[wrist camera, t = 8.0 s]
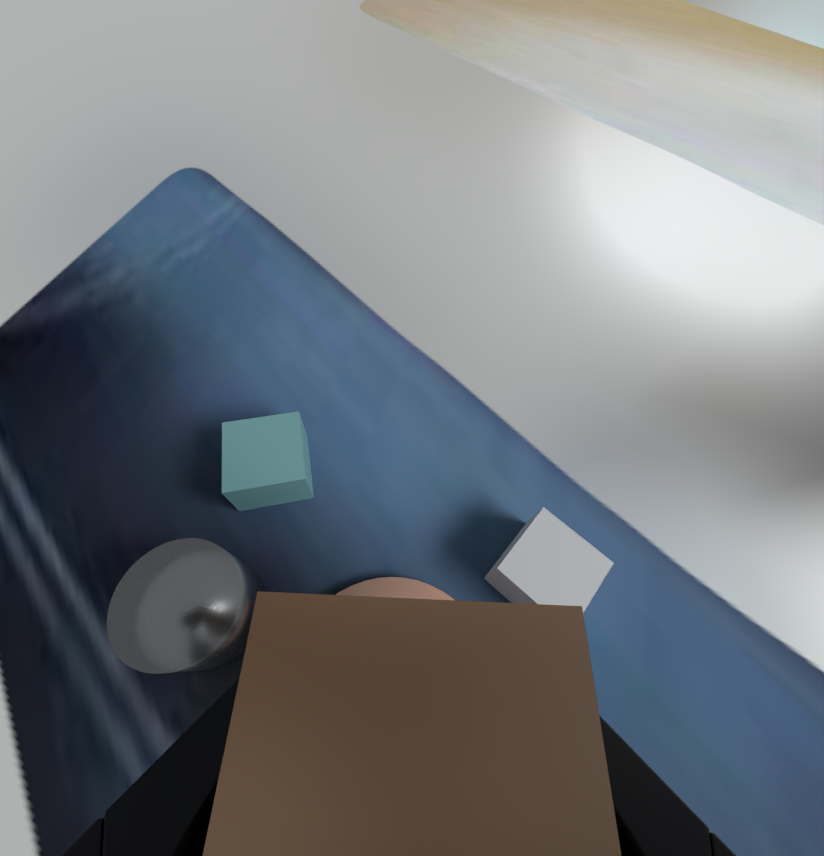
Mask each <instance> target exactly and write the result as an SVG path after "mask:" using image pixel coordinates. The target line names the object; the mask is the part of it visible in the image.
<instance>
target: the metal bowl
mask: <svg viewBox="0 0 824 856" xmlns="http://www.w3.org/2000/svg"><path fill="white" fill-rule="evenodd" d="M258 591H259V592H265V590H264V586H263V583H262V581H261V579H260V577H259V576H258V574H257V573H256V572H255V571H254V570H253V569H252V568H251V567H250V566H249V565H247V564H246V563H244V562H243V561H241V560H240V559H238V558H237V557H235V556H234V555H232V554H230V553H229V552H227V551H226V550H224V549H223V548H221V547H220V546H218V545H217V544H215V543H213V542H210V541H207V540H204V539H198V538H184V539H178V540H173V541H170V542H167V543H164V544H162V545H160V546H158V547H156V548H154V549H152V550H151V551H149V552H148V553H146V554H145V555H144V556H142V557H141V558H140V559H139V560H138V561H136V562H135V563H134V564H133V565H132V566H131V567H130V569H129V570H128V571H127V572H126V573H125V575H124V576H123V577H122V579H121V580H120V582H119V584H118V585H117V587H116V589H115V591H114V593H113V596H112V599H111V601H110V605H109V609H108V614H107V633H108V639H109V641H110V644H111V647H112V649H113V651H114V652H115V654H116V655H117V656H118V658H119V659H120V660H121V661H122V662H123V663H125V664H126V665H127V666H129V667H131V668H132V669H135V670H137V671H140V672H145V673H152V674H161V673H176V672H192V671H205V670H211V669H215V668H218V667H221V666H223V665H225V664H227V663H229V662H231V661H232V660H234V659H235V658H236V657H238V656H239V655H240V654H241V653H242V652H243V651H245V649H246V644H247V640H248V635H249V630H250V625H251V620H252V616H253V611H254V606H255V601H256V596H257V592H258Z"/></svg>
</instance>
